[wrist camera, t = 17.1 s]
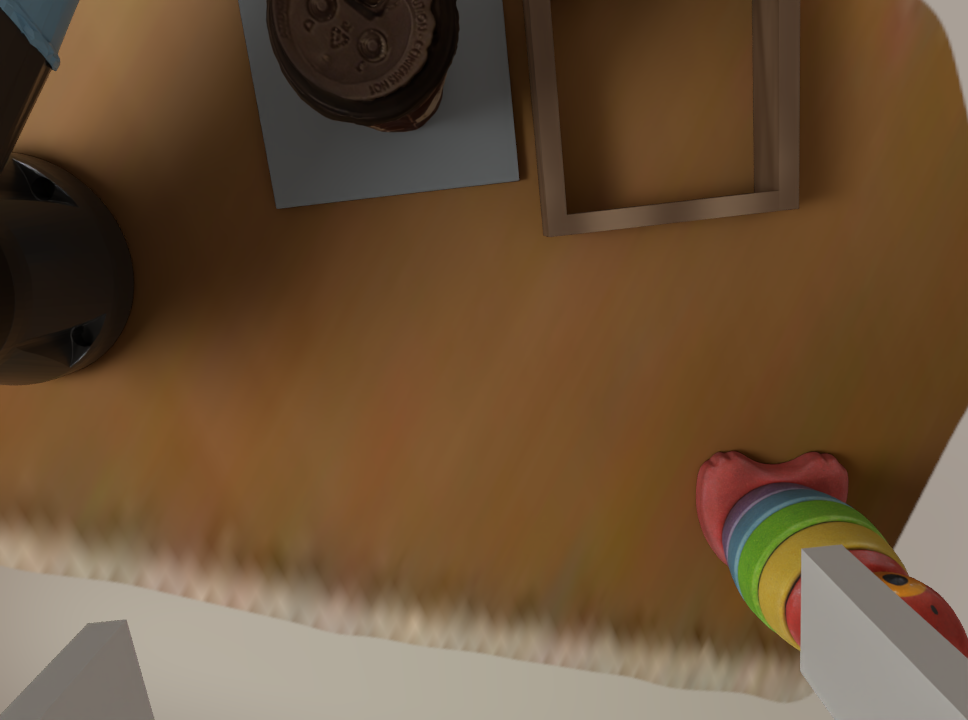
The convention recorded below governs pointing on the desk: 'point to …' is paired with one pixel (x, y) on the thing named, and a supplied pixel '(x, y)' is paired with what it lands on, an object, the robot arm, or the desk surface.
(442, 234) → the desk surface
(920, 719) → the robot arm
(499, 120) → the mat
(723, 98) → the desk surface
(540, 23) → the square frame
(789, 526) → the stacking bear
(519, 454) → the desk surface
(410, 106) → the coffee cup
